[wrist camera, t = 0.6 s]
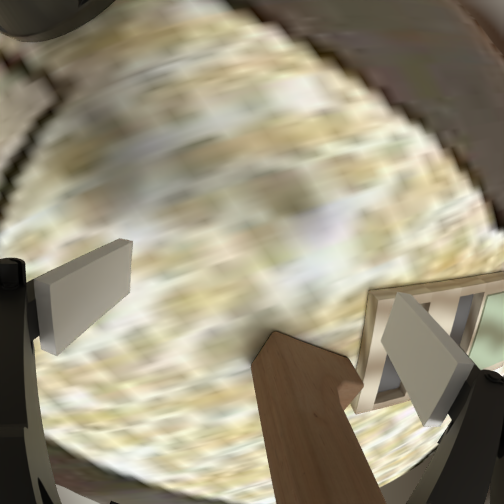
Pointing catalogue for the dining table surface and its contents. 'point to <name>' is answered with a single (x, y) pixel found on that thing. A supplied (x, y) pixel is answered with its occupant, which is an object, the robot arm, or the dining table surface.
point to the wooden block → (311, 425)
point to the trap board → (447, 316)
